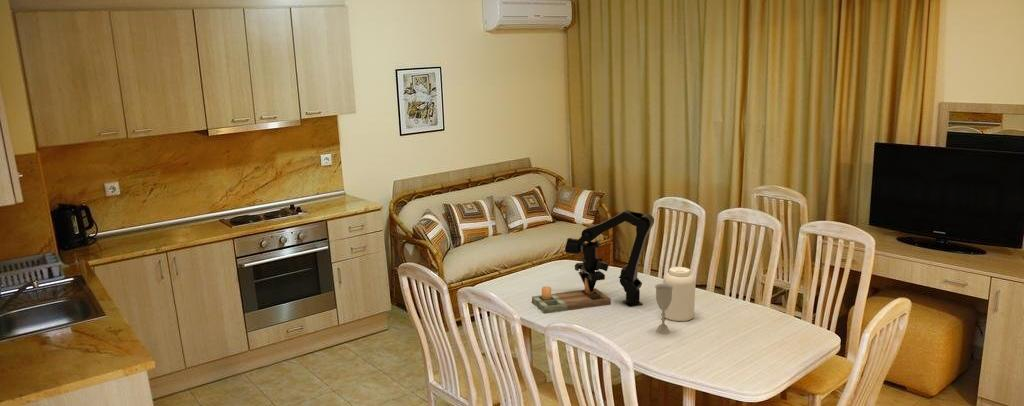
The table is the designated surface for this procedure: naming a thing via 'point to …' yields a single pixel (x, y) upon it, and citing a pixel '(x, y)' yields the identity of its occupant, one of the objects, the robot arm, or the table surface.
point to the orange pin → (587, 289)
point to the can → (680, 294)
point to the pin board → (571, 301)
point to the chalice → (663, 303)
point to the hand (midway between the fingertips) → (589, 290)
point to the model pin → (546, 293)
